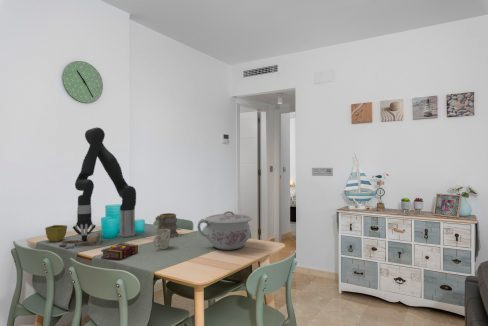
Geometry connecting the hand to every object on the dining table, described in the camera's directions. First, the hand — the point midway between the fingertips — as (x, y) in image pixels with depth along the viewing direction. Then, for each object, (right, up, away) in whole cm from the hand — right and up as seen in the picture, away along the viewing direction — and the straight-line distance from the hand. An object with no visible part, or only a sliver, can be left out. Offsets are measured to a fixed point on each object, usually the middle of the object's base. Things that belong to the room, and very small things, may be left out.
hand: (84, 241), depth 191 cm
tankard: (+43, -2, +19) cm, 47 cm away
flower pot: (-21, -2, +7) cm, 22 cm away
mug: (+49, -2, -11) cm, 50 cm away
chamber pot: (+87, -2, -7) cm, 87 cm away
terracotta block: (+4, -2, +1) cm, 5 cm away
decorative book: (+30, -2, -24) cm, 39 cm away
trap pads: (-4, -2, -1) cm, 5 cm away
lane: (-1, -2, 0) cm, 2 cm away
